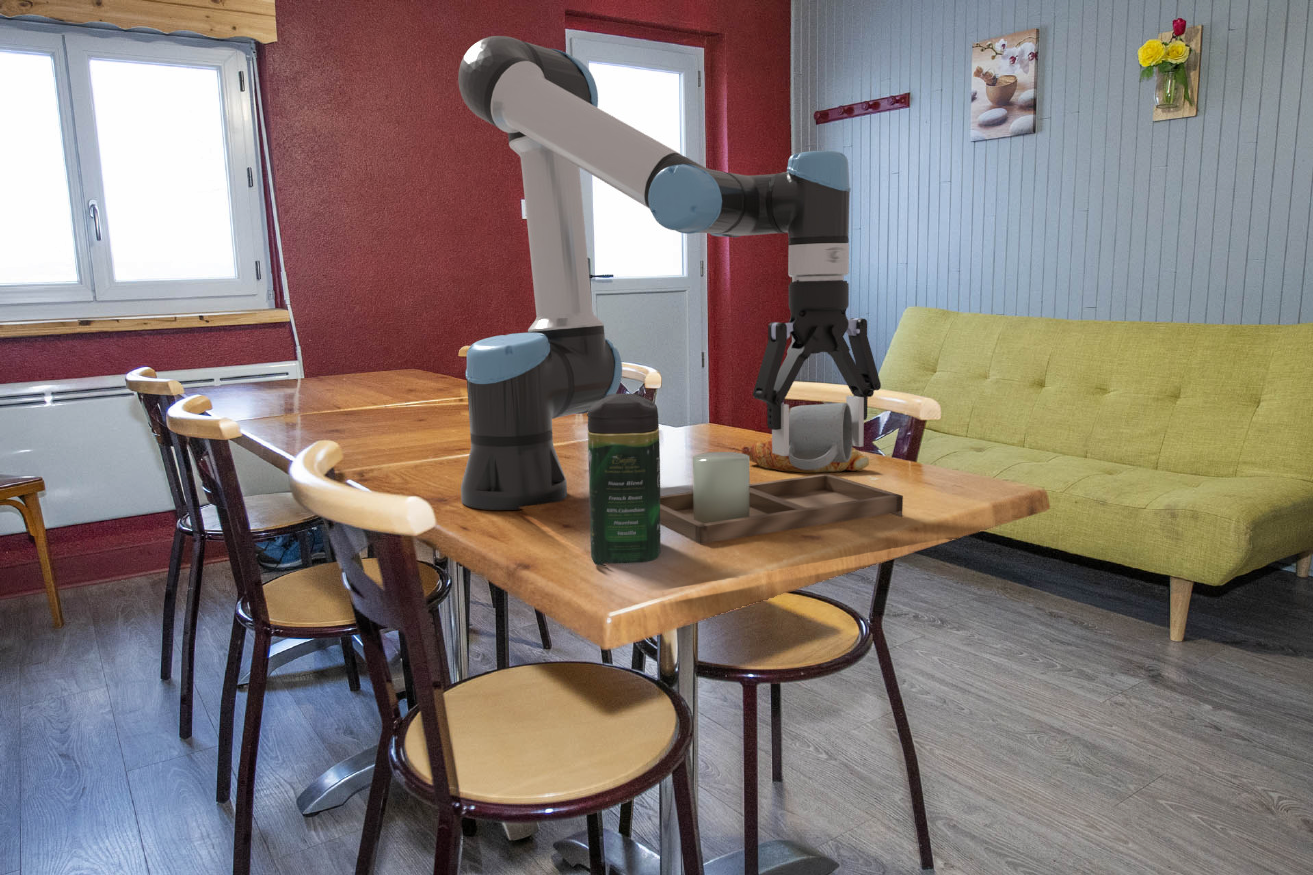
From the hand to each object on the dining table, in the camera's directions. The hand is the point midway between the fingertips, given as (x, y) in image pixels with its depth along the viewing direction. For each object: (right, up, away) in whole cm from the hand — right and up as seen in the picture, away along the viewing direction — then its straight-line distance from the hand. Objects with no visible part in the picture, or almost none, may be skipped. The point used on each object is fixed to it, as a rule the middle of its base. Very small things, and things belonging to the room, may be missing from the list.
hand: (818, 449), depth 122 cm
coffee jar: (-24, -12, -17) cm, 32 cm away
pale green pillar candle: (-13, -9, -5) cm, 16 cm away
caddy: (-6, -9, -2) cm, 11 cm away
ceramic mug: (0, -2, -1) cm, 2 cm away
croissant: (+3, -4, +30) cm, 31 cm away
